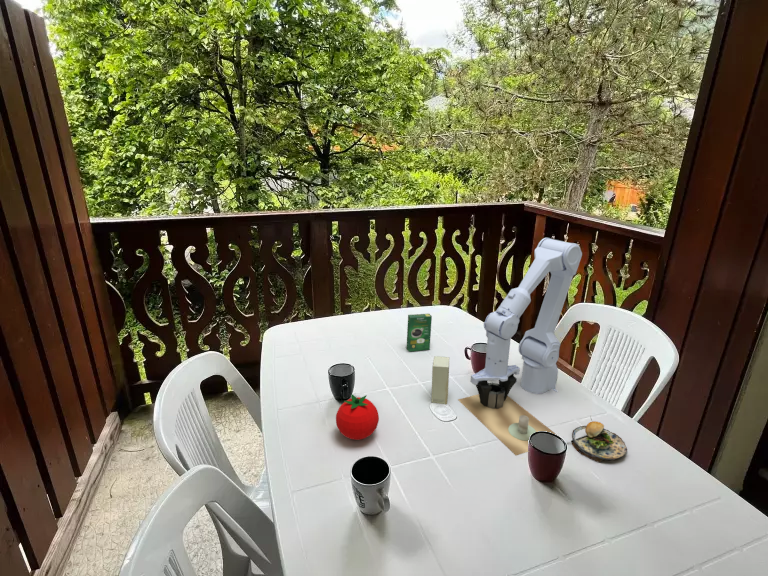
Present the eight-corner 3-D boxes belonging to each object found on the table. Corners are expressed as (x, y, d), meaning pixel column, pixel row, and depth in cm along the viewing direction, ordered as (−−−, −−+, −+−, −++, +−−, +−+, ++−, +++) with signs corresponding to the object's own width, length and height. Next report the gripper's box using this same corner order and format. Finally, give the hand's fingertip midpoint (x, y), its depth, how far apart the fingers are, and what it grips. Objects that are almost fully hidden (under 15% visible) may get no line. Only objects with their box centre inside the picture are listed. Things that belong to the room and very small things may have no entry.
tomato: (384, 426, 104) (384, 391, 101) (369, 453, 95) (369, 416, 92) (346, 417, 108) (345, 384, 105) (329, 443, 98) (327, 407, 95)
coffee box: (428, 346, 147) (429, 312, 143) (430, 350, 144) (432, 315, 140) (406, 348, 146) (407, 314, 141) (408, 352, 143) (409, 317, 139)
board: (498, 391, 119) (500, 376, 118) (562, 443, 98) (565, 425, 97) (457, 402, 114) (458, 386, 113) (515, 459, 93) (517, 440, 92)
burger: (603, 471, 90) (609, 443, 88) (559, 440, 100) (563, 413, 98) (637, 454, 95) (644, 427, 93) (592, 425, 105) (597, 400, 103)
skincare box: (446, 407, 112) (449, 367, 108) (430, 405, 113) (432, 366, 109) (448, 395, 118) (450, 356, 114) (432, 393, 119) (434, 355, 115)
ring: (494, 395, 116) (496, 381, 115) (507, 405, 111) (509, 391, 110) (478, 399, 114) (479, 385, 113) (490, 410, 109) (492, 395, 108)
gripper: (483, 369, 102) (479, 415, 106) (529, 358, 107) (524, 403, 112) (467, 356, 108) (464, 401, 112) (511, 347, 114) (507, 390, 118)
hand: (492, 401), depth 112 cm, fingers closed on ring, 6 cm apart
